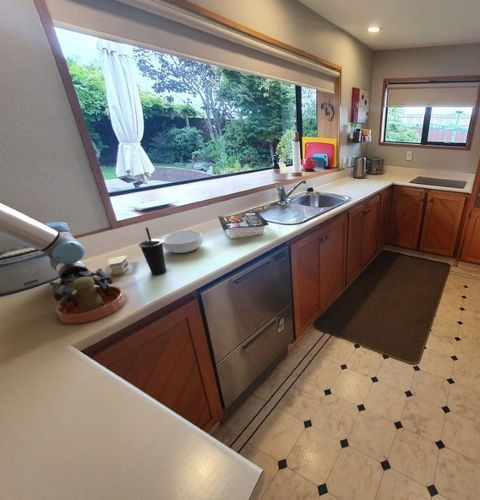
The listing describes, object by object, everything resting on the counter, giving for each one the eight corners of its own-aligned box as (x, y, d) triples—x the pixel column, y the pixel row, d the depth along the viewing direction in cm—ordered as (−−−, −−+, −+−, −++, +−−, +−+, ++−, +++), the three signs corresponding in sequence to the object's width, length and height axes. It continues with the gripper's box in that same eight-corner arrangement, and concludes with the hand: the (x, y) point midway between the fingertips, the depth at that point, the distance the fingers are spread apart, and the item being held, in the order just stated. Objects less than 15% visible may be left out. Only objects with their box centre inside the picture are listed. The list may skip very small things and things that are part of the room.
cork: (108, 306, 93) (97, 277, 88) (85, 316, 88) (72, 286, 83) (100, 300, 95) (89, 272, 91) (78, 309, 91) (64, 280, 86)
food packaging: (217, 215, 160) (257, 210, 171) (219, 227, 163) (258, 222, 174) (223, 229, 141) (268, 223, 151) (226, 243, 144) (269, 236, 154)
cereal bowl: (167, 261, 124) (163, 246, 121) (161, 248, 135) (158, 234, 132) (208, 252, 134) (206, 238, 131) (200, 240, 145) (197, 227, 142)
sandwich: (134, 274, 113) (129, 262, 110) (105, 279, 108) (100, 267, 106) (135, 264, 120) (132, 252, 118) (109, 268, 116) (105, 256, 114)
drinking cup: (167, 267, 119) (155, 222, 111) (172, 273, 114) (160, 228, 106) (146, 272, 114) (132, 226, 106) (150, 280, 109) (136, 232, 101)
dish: (47, 328, 83) (41, 318, 82) (80, 297, 97) (76, 288, 96) (111, 322, 87) (106, 311, 85) (133, 293, 101) (130, 283, 100)
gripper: (111, 271, 108) (132, 293, 95) (38, 293, 93) (52, 322, 81) (104, 254, 105) (126, 274, 92) (28, 273, 90) (41, 301, 78)
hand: (91, 297), depth 87 cm, fingers open, 7 cm apart
